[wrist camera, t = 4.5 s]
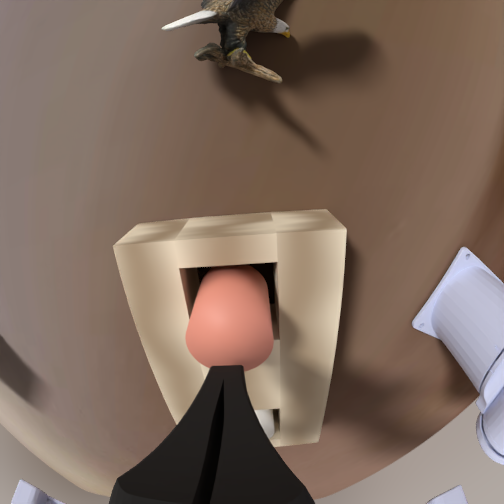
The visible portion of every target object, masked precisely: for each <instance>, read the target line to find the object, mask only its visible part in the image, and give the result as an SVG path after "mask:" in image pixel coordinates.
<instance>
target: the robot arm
mask: <svg viewBox="0 0 504 504" xmlns="http://www.w3.org/2000/svg"><path fill="white" fill-rule="evenodd" d="M466 255H467V256H466ZM420 324H421V325H420ZM412 326H413V327H414V328H415V329H417V330H419V331H422V332H424V333H426V334H429V335H431V336H433V337H435V338H438V339H440V340H442V342H443V343H444V344H445V346H446V347H447V348H448V350H449V351H450V352H451V354H452V355H453V356H454V358H455V359H456V360H457V362H458V363H459V365H460V366H461V367H462V369H463V370H464V372H465V373H466V375H467V376H468V377H469V379H470V380H471V382H472V383H473V385H474V386H475V388H476V389H477V391H478V392H479V394H480V396H479V398H478V400H477V401H476V405H477V406H478V408H479V410H480V411H481V412H480V414H479V416H478V418H477V422H476V432H477V438H478V441H479V443H480V445H481V448H482V449H483V451H484V452H485V453H486V455H487V456H488V457H490V458H491V459H492V460H494V461H495V462H497V463H500V464H502V465H504V284H503V283H502V282H501V281H500V279H499V278H498V277H497V276H496V275H495V274H494V273H493V272H492V271H491V270H490V269H489V268H488V267H487V266H485V265H484V264H483V263H482V262H481V261H480V260H479V259H478V258H477V257H476V256H475V255H474V254H473V253H472V252H471V251H470V250H468V249H467V248H466V247H462V248H461V249H460V250H459V252H458V254H457V255H456V257H455V259H454V261H453V262H452V264H451V265H450V267H449V269H448V270H447V272H446V274H445V275H444V277H443V278H442V280H441V281H440V283H439V284H438V286H437V287H436V289H435V290H434V292H433V293H432V295H431V296H430V298H429V299H428V300H427V302H426V303H425V305H424V306H423V308H422V309H421V310H420V312H419V313H418V314H417V316H416V317H415V318H414V320H413V321H412ZM11 504H65V503H63V502H61V501H59V500H56V499H54V498H52V497H50V496H48V495H47V494H45V492H43V491H42V490H40V489H38V488H37V487H35V486H33V485H31V484H29V483H28V482H26V481H24V480H22V479H20V481H19V483H18V486H17V489H16V491H15V494H14V496H13V499H12V502H11ZM109 504H315V502H314V500H313V499H312V497H311V495H310V494H309V492H308V491H307V489H306V487H305V486H304V485H303V483H302V482H301V481H300V480H299V479H298V478H297V477H296V476H295V475H294V473H293V472H292V471H291V470H290V469H289V467H288V466H287V465H286V464H285V462H284V461H283V460H282V458H281V457H280V455H279V454H278V452H277V451H276V450H275V448H274V447H273V445H272V443H271V442H270V440H269V439H268V437H267V435H266V433H265V432H264V430H263V428H262V426H261V424H260V422H259V420H258V418H257V415H256V413H255V411H254V409H253V406H252V403H251V401H250V398H249V395H248V392H247V387H246V380H245V373H244V367H243V366H242V365H223V366H211V367H210V369H209V372H208V374H207V376H206V378H205V380H204V382H203V384H202V386H201V388H200V390H199V392H198V394H197V395H196V397H195V399H194V401H193V402H192V404H191V405H190V407H189V408H188V410H187V411H186V413H185V414H184V416H183V417H182V419H181V420H180V421H179V423H178V424H177V425H176V427H175V428H174V429H173V430H172V432H171V433H170V434H169V435H168V436H167V437H166V438H165V439H164V441H163V442H162V443H161V444H160V445H159V446H158V447H157V448H156V449H155V450H154V451H153V452H151V453H150V454H149V455H148V456H147V457H146V458H144V459H143V460H142V461H141V462H140V463H139V464H137V465H136V466H135V467H133V468H132V469H130V470H129V471H127V472H126V473H124V474H123V475H121V476H120V477H118V478H117V480H116V483H115V485H114V487H113V490H112V494H111V497H110V501H109ZM426 504H468V502H467V500H466V497H465V494H464V492H463V489H462V487H461V485H458V486H456V487H454V488H452V489H450V490H448V491H446V492H444V493H442V494H440V495H438V496H436V497H434V498H432V499H431V500H429V501H428V502H427V503H426Z"/></svg>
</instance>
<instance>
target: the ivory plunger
mask: <svg viewBox="0 0 504 504" xmlns="http://www.w3.org/2000/svg"><path fill="white" fill-rule="evenodd" d="M254 411H255V413H256V415H257V418H258V420H259V422H260V424H261V426H262V428H263V430H264V432H265V433H266V435H267V437H268V439H270V438H271V437H272V436H273V435H274V419H273V409H266V410H254Z"/></svg>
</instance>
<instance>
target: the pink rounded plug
mask: <svg viewBox="0 0 504 504" xmlns="http://www.w3.org/2000/svg"><path fill="white" fill-rule="evenodd" d="M185 340H186V345H187V348H188V350H189V352H190V353H191V355H192V356H193V357H194V358H195V359H196V360H197V361H198V362H199V363H201V364H202V365H204V366H206V367H208V368H210V367H211V366H223V365H242V366H243V367H244V372H245V371H249V370H251V369H254V368H256V367H258V366H259V365H261V364H262V363H263V362H264V361H265V360H266V359H267V358H268V357H269V355H270V354H271V352H272V349H273V343H274V340H273V330H272V321H271V312H270V304H269V295H268V287H267V283H266V281H265V279H264V277H263V276H262V275H261V274H260V273H259V272H258V271H257V270H256V269H255V268H253V267H251V266H249V265H247V264H240V265H224V266H215V267H213V268H211V269H210V270H209V271H208V272H207V273H206V274H205V275H204V277H203V279H202V281H201V284H200V287H199V290H198V294H197V297H196V300H195V303H194V307H193V310H192V313H191V317H190V320H189V323H188V327H187V330H186V335H185Z"/></svg>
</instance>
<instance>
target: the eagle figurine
mask: <svg viewBox="0 0 504 504" xmlns="http://www.w3.org/2000/svg"><path fill="white" fill-rule="evenodd" d="M282 1H284V0H203V2H202V4H201V6H202V8H205V9H204V10H202V11H200V12H198V13H195V14H193V15H190V16H188V17H185V18H183V19H180V20H178V21H175V22H173V23H171V24H169V25H166V26H164V27H163V28H162V30H165V31H172V30H175V29H178V28H181V27H186V26H190V25H193V24H207V23H218V26H219V32H220V34H221V43H220V45H221V47H222V48H220V47H219V46H218V45H217V44H215V43H209V44H208V45H207V46H205V47H203V48H201V49H199V50H198V51H197V52H195V54H194V56H195V57H196V59H198V60H199V61H204V60H207V59H208V60H210V61H217V62H219V64H218V66H219V67H220V68H224V67H225V66H229V67H233V68H237V69H239V70H241V71H244V72H246V73H249V74H252V75H255V76H257V77H260V78H263V79H266V80H268V81H271V82H275V83H282V78H281V77H280V76H279V75H278V74H276V73H275V72H273V71H271V70H269V69H266V68H265V67H263V66H262V65H257V64H255V63H254V62H253V61H252V59H251V57H250V56H249V54H248V53H247V52H246V47H247V43H246V40H245V38H246V36H247V34H248V32H249V31H255V32H263V33H267V32H275V33H279V34H283V35H285V36H286V37H287V38H289V37H290V33H289V30H288V29H289V26H288V25H287V24H286V23H285V22H283V21H281V20H280V19H278V18H276V17H275V16H274V12H275V10H276V8H277V7H278V6H279V5H280V3H281V2H282ZM206 53H207V54H206Z"/></svg>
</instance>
